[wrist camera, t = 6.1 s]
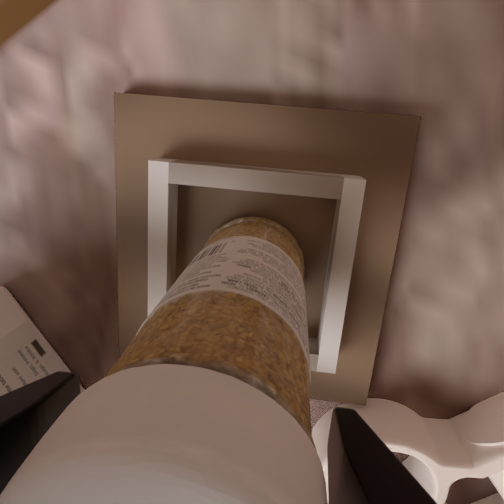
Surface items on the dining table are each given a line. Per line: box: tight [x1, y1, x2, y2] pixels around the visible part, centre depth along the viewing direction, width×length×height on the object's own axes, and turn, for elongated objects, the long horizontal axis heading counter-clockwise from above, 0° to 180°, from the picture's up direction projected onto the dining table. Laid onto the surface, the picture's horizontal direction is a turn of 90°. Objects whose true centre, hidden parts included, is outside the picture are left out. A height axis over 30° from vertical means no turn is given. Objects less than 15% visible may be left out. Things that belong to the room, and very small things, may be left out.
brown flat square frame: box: [114, 92, 421, 406], centre depth 17 cm, size 13×12×2 cm
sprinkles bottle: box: [0, 217, 328, 504], centre depth 11 cm, size 5×5×14 cm
